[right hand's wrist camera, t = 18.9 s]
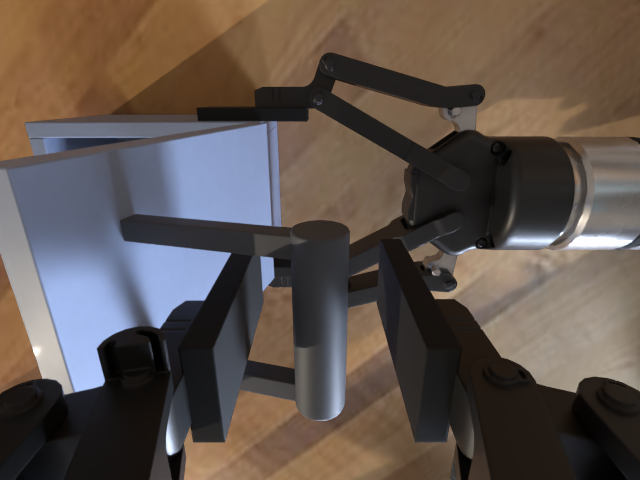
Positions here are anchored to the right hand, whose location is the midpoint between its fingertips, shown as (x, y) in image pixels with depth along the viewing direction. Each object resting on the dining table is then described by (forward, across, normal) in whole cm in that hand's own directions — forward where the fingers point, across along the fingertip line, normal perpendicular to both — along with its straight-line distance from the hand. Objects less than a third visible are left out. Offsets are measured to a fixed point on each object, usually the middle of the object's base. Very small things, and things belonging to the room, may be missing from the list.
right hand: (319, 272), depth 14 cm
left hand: (+12, +7, 0) cm, 14 cm away
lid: (+2, +6, 0) cm, 6 cm away
